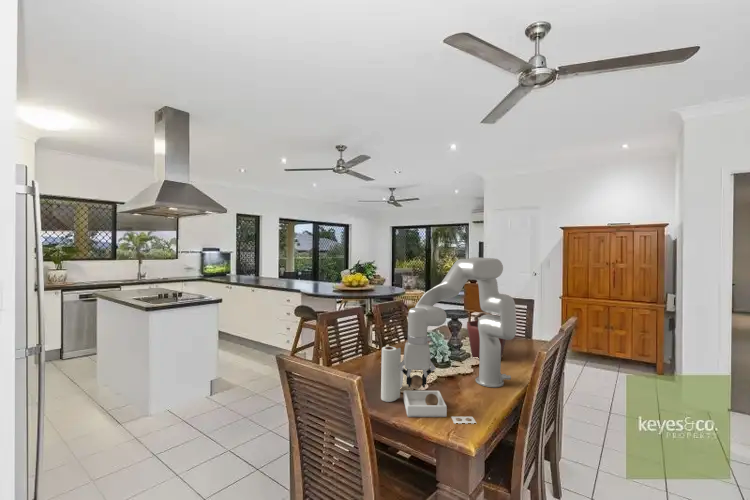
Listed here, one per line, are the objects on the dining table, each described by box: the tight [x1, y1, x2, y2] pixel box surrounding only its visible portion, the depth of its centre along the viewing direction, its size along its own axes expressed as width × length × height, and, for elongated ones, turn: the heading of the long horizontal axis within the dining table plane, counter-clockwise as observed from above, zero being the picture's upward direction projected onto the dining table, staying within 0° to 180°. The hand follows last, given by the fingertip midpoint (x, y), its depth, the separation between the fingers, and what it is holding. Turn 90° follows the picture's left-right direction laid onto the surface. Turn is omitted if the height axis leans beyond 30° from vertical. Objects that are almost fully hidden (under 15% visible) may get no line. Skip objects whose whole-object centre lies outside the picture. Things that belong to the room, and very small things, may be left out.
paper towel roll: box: [380, 346, 402, 403], centre depth 153 cm, size 7×6×21 cm
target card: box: [450, 416, 477, 425], centre depth 136 cm, size 8×5×1 cm, turn 91°
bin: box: [403, 390, 448, 418], centre depth 145 cm, size 15×15×4 cm
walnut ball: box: [411, 374, 423, 390], centre depth 145 cm, size 5×5×5 cm
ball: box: [425, 394, 438, 405], centre depth 145 cm, size 5×5×5 cm
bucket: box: [466, 311, 506, 358], centre depth 213 cm, size 24×22×25 cm
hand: (416, 385), depth 145 cm, fingers closed on walnut ball, 4 cm apart
